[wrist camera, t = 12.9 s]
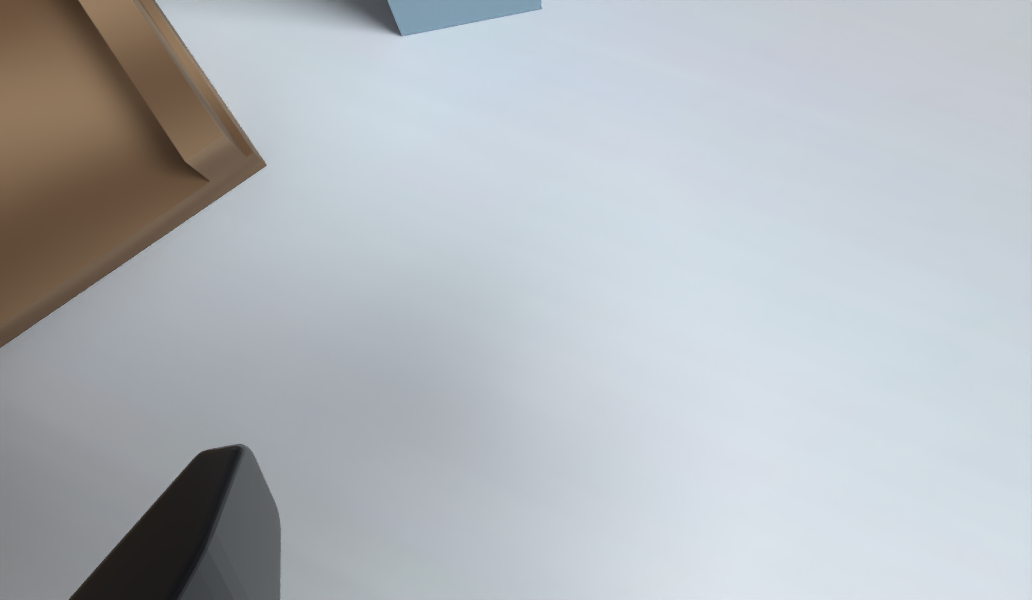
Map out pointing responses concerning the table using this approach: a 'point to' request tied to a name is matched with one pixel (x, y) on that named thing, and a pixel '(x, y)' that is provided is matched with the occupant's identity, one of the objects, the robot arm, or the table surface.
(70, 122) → the tray
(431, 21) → the light blue block
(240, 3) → the table surface
